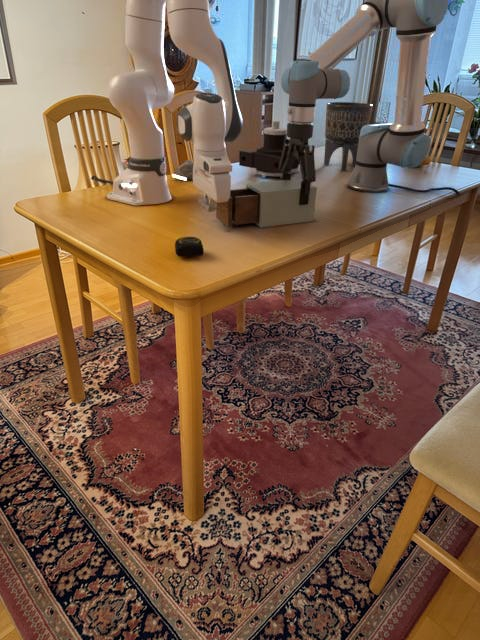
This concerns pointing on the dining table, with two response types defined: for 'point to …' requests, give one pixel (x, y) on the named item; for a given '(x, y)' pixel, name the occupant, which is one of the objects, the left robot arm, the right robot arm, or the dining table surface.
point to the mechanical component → (268, 153)
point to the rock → (185, 170)
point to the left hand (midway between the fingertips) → (210, 209)
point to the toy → (425, 162)
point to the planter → (345, 128)
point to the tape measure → (189, 247)
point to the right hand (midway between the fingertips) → (294, 199)
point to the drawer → (237, 207)
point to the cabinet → (283, 202)
